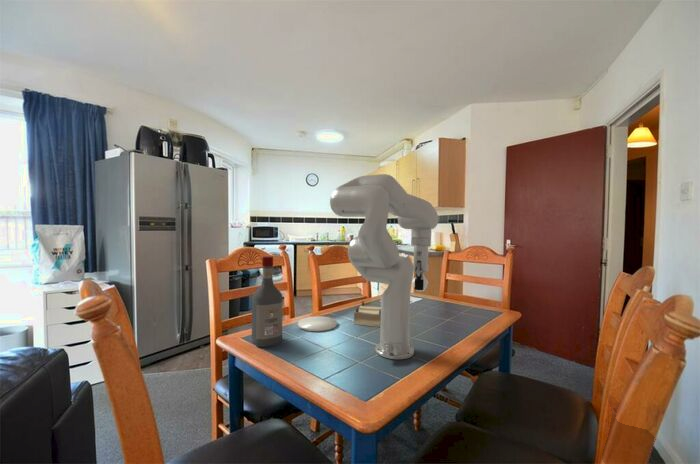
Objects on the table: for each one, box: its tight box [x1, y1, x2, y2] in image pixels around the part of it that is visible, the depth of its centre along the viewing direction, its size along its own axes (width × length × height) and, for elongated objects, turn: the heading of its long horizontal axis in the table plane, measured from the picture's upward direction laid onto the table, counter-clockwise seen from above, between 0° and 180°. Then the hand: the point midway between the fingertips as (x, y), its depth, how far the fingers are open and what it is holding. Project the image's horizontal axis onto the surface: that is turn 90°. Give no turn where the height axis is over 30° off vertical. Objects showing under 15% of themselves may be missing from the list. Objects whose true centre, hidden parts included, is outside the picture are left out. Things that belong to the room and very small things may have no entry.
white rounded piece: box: [412, 274, 429, 293], centre depth 117 cm, size 6×6×7 cm
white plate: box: [297, 315, 338, 332], centre depth 123 cm, size 16×16×1 cm
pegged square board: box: [353, 300, 381, 328], centre depth 129 cm, size 12×12×7 cm
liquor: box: [251, 255, 284, 348], centre depth 105 cm, size 9×9×30 cm
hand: (419, 287), depth 117 cm, fingers closed on white rounded piece, 6 cm apart
